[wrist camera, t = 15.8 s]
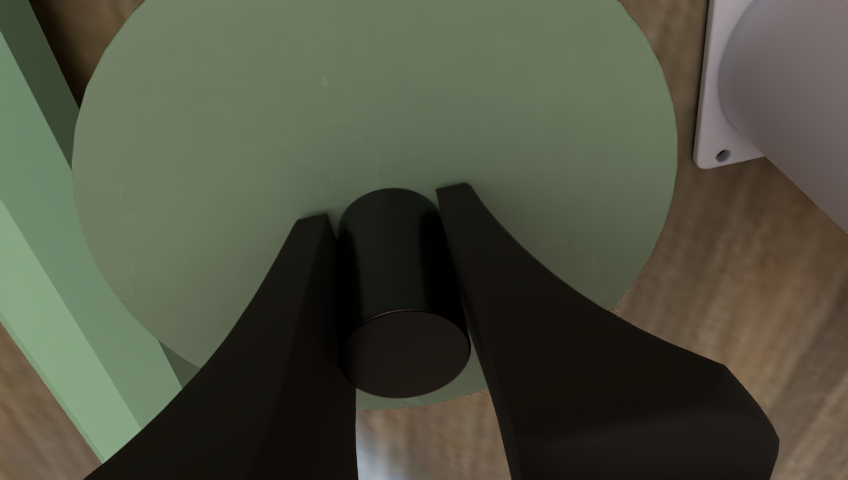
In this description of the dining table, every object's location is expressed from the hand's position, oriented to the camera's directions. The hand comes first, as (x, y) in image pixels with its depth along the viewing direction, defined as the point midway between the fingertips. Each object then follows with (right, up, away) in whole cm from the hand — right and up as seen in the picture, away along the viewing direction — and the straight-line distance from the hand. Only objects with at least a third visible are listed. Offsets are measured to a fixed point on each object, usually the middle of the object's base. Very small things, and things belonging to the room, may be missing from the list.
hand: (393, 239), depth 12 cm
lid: (0, +1, +1) cm, 1 cm away
